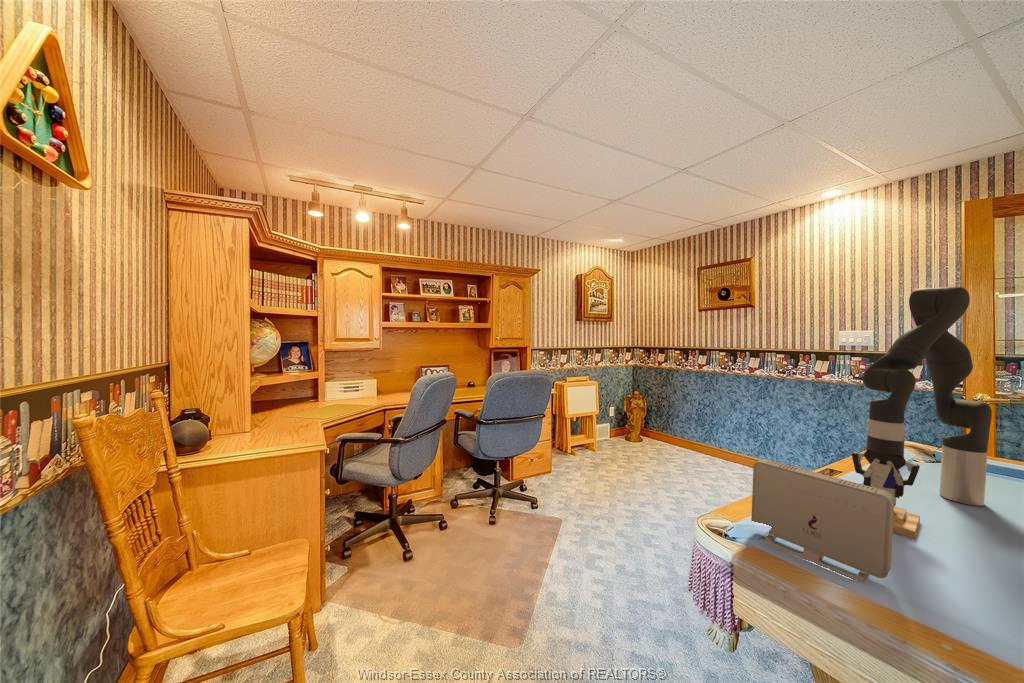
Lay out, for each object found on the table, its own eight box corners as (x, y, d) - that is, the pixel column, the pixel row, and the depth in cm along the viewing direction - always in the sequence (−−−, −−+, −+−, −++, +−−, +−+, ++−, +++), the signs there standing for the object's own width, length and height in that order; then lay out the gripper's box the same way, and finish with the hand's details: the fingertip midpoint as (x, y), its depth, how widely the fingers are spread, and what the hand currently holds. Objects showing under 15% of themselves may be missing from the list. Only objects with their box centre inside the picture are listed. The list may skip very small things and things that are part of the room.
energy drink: (901, 508, 101) (903, 466, 100) (878, 506, 102) (880, 465, 102) (885, 499, 106) (887, 460, 106) (864, 497, 107) (866, 458, 107)
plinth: (853, 503, 114) (853, 492, 114) (919, 522, 103) (920, 510, 103) (843, 516, 106) (844, 505, 105) (914, 539, 94) (915, 526, 94)
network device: (747, 535, 95) (750, 462, 94) (760, 525, 100) (763, 455, 99) (884, 594, 74) (889, 500, 73) (892, 578, 79) (896, 489, 79)
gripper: (924, 440, 100) (921, 499, 101) (854, 428, 111) (851, 481, 112) (921, 444, 95) (918, 506, 96) (849, 432, 107) (846, 487, 107)
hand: (882, 492), depth 104 cm, fingers closed on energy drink, 5 cm apart
